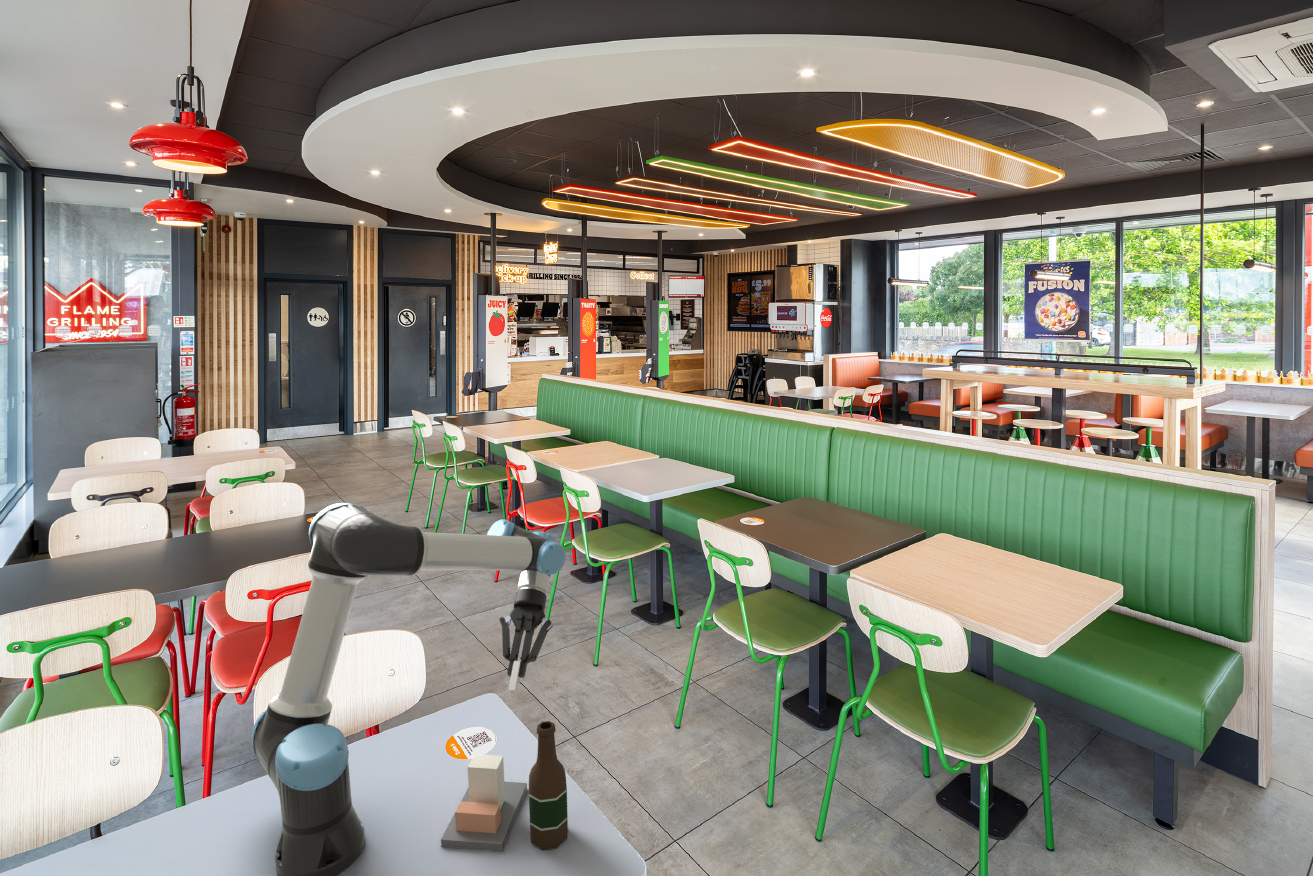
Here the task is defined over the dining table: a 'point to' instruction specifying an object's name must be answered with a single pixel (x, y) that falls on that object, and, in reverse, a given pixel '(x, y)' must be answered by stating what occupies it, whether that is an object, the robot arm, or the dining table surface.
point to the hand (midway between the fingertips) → (512, 691)
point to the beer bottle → (547, 793)
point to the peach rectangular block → (477, 817)
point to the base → (488, 840)
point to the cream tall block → (486, 779)
